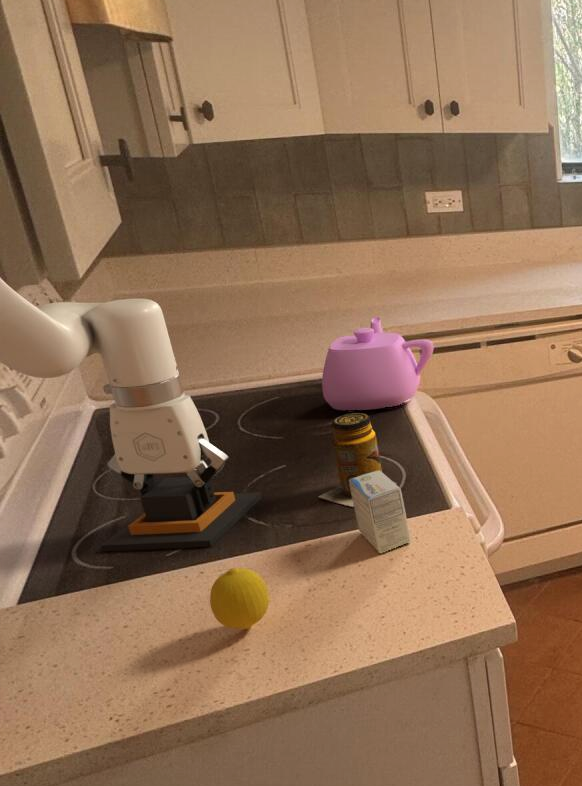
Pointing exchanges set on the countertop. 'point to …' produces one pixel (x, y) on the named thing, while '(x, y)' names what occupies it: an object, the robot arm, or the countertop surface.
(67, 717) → the countertop surface
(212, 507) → the base pad
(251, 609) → the lemon
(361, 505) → the medicine box
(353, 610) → the countertop surface
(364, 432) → the condiment
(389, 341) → the teapot
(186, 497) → the small block
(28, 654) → the countertop surface
